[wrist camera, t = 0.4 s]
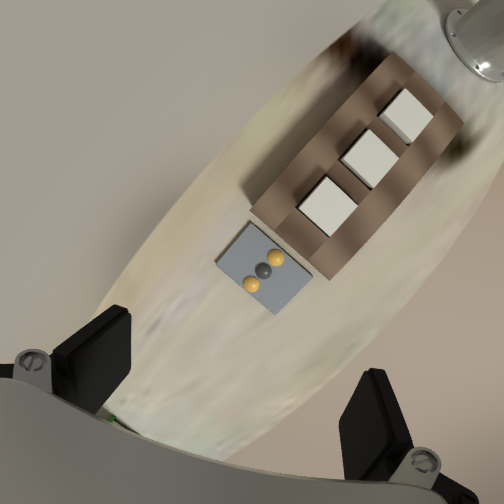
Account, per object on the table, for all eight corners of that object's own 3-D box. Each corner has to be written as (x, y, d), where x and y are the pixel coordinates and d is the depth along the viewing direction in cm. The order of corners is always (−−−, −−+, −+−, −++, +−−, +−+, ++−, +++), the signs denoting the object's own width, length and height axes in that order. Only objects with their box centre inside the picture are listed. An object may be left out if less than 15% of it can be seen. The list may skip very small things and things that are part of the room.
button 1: (399, 93, 27) (405, 88, 25) (425, 119, 28) (433, 116, 25) (378, 117, 29) (383, 113, 26) (405, 144, 29) (412, 142, 27)
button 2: (324, 177, 31) (326, 176, 29) (354, 204, 31) (358, 205, 29) (298, 206, 32) (298, 208, 30) (327, 233, 33) (330, 236, 30)
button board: (386, 59, 28) (392, 51, 25) (453, 126, 29) (464, 123, 26) (253, 207, 35) (249, 210, 33) (327, 272, 36) (329, 280, 33)
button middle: (364, 132, 29) (369, 129, 27) (392, 159, 29) (399, 158, 27) (340, 160, 30) (343, 158, 28) (368, 187, 31) (373, 187, 29)
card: (251, 222, 36) (250, 223, 35) (312, 276, 36) (313, 277, 36) (216, 263, 38) (214, 265, 37) (275, 313, 38) (274, 315, 38)
